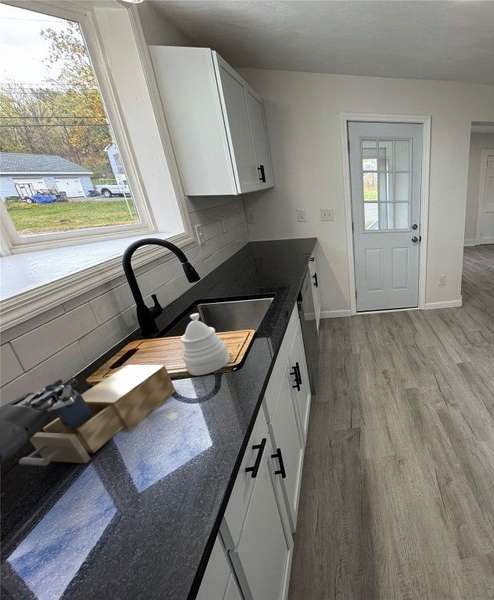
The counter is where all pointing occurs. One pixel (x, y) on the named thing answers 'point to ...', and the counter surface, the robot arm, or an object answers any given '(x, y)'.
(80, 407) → the vaping device
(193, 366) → the honey pot
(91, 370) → the counter surface
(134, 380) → the cabinet
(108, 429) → the drawer
